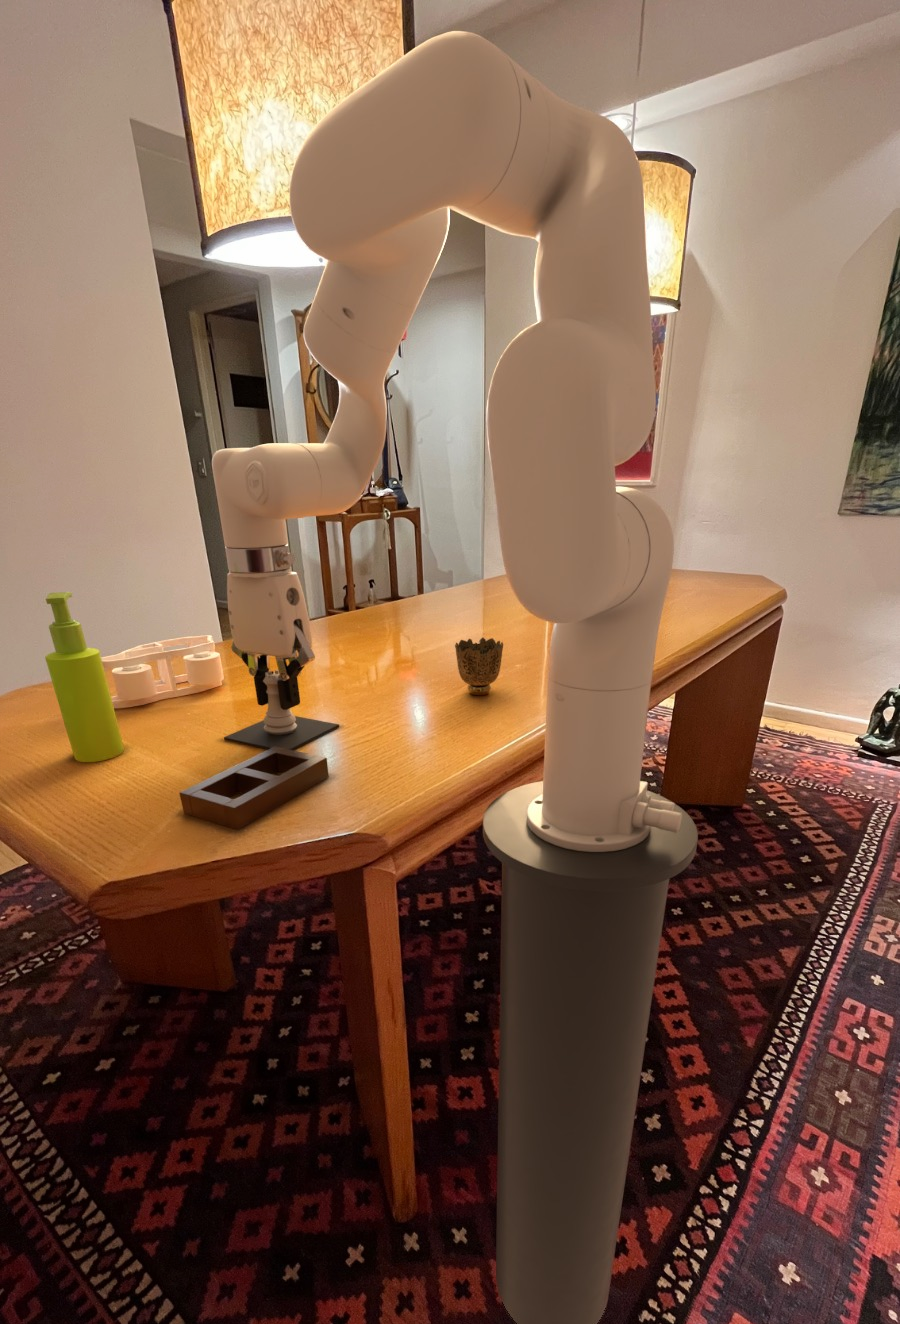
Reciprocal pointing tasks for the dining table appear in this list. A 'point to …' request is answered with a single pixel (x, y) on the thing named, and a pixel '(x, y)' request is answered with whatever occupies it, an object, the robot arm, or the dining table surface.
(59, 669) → the soap dispenser
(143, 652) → the skeletal toy car
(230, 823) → the holder
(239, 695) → the dining table surface
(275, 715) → the rook chess piece
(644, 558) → the robot arm
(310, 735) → the coaster
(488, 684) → the cup
